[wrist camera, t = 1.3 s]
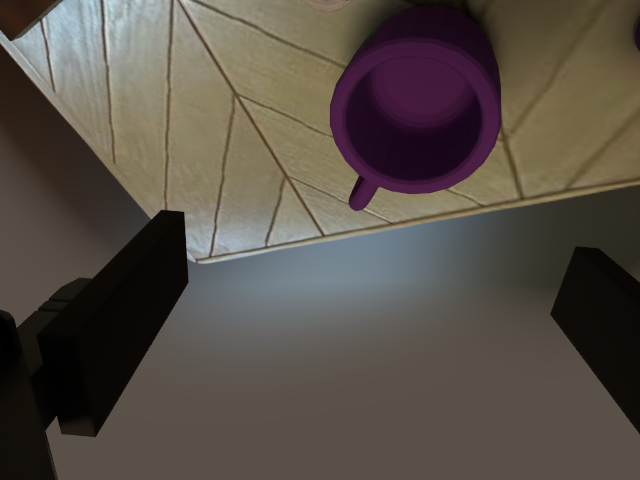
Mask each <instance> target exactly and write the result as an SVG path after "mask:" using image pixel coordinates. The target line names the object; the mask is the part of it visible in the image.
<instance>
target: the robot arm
mask: <svg viewBox="0 0 640 480" xmlns="http://www.w3.org/2000/svg"><path fill="white" fill-rule="evenodd" d="M187 284H188V266H187V250H186V234H185V218H184V212H180V211H169V210H161V211H160V212H159V213H158V214H157V215H156V216H155V217H154V218H153V219H152V220H151V221H150V222H149V223H148V224H147V225H146V226H145V227H144V228H143V229H142V230H141V231H140V232H139V233H138V234H137V235H136V236H135V237H134V238H133V239H132V240H131V241H130V242H129V243H128V244H127V245H126V246H125V247H124V248H123V249H122V250H121V251H120V252H119V253H118V254H117V255H116V256H115V257H114V258H113V259H112V260H111V261H110V262H109V263H108V264H107V265H106V266H105V267H104V268H103V269H102V270H101V271H100V272H99V273H98V274H97V275H96V276H95V277H94V278H93V279H91V278H78V279H76V280H74V281H72V282H70V283H68V284H66V285H64V286H62V287H61V288H60V289H59V290H58V291H56V292H55V293H54V294H53V295H52V296H51V297H50V298H49V301H46V302H45V303H44V304H43V305H42V306H40V307H39V308H38V311H35V312H34V313H33V314H32V315H30V316H29V317H28V318H27V319H26V320H25V321H24V322H23V323H22V324H21V325H20V326H18V327H17V328H16V324H15V321H14V318H13V317H12V316H11V314H10V313H8V312H6V311H3V310H0V480H58V477H57V473H56V470H55V466H54V462H53V458H52V454H51V450H50V446H49V443H48V439H47V435H46V429H47V428H48V427H49V425H50V424H51V423H52V421H53V420H54V418H55V417H56V416H57V418H58V422H59V426H60V429H61V434H68V435H79V436H90V437H96V436H97V434H98V432H99V430H100V429H101V427H102V426H103V424H104V422H105V421H106V419H107V417H108V416H109V414H110V412H111V411H112V409H113V407H114V405H115V404H116V402H117V401H118V399H119V397H120V396H121V394H122V392H123V391H124V389H125V387H126V386H127V384H128V382H129V381H130V379H131V377H132V376H133V374H134V372H135V370H136V369H137V367H138V366H139V364H140V362H141V360H142V359H143V357H144V356H145V354H146V352H147V351H148V349H149V347H150V346H151V344H152V342H153V341H154V339H155V337H156V336H157V334H158V332H159V330H160V329H161V327H162V326H163V324H164V322H165V321H166V319H167V317H168V316H169V314H170V312H171V311H172V309H173V307H174V306H175V304H176V302H177V301H178V299H179V297H180V296H181V294H182V292H183V291H184V289H185V287H186V286H187ZM550 315H551V316H552V317H553V319H554V320H555V321H556V323H557V324H558V325H559V327H560V328H561V329H562V331H563V332H564V333H565V335H566V336H567V338H568V339H569V340H570V342H571V343H572V344H573V346H574V347H575V348H576V350H577V351H578V352H579V354H580V355H581V356H582V358H583V359H584V360H585V362H586V363H587V364H588V365H589V367H590V368H591V370H592V371H593V372H594V373H595V375H596V376H597V378H598V379H599V380H600V382H601V383H602V384H603V386H604V387H605V388H606V390H607V391H608V392H609V394H610V395H611V396H612V398H613V399H614V400H615V402H616V403H617V404H618V406H619V407H620V408H621V410H622V411H623V412H624V413H625V415H626V416H627V418H628V419H629V420H630V422H631V423H632V424H633V426H634V427H635V428H636V430H637V431H638V432H639V434H640V283H639V282H638V281H637V280H636V279H635V278H634V277H632V276H631V275H630V274H629V273H627V272H626V271H625V270H624V269H623V268H622V267H620V266H619V265H618V264H617V263H615V262H614V261H613V260H612V259H611V258H609V257H608V256H607V255H606V254H605V253H604V252H602V251H601V250H600V249H598V248H588V247H577V246H576V247H575V250H574V253H573V255H572V258H571V261H570V263H569V266H568V268H567V271H566V274H565V276H564V279H563V282H562V285H561V287H560V290H559V292H558V295H557V298H556V300H555V303H554V306H553V308H552V311H551V314H550Z"/></svg>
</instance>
